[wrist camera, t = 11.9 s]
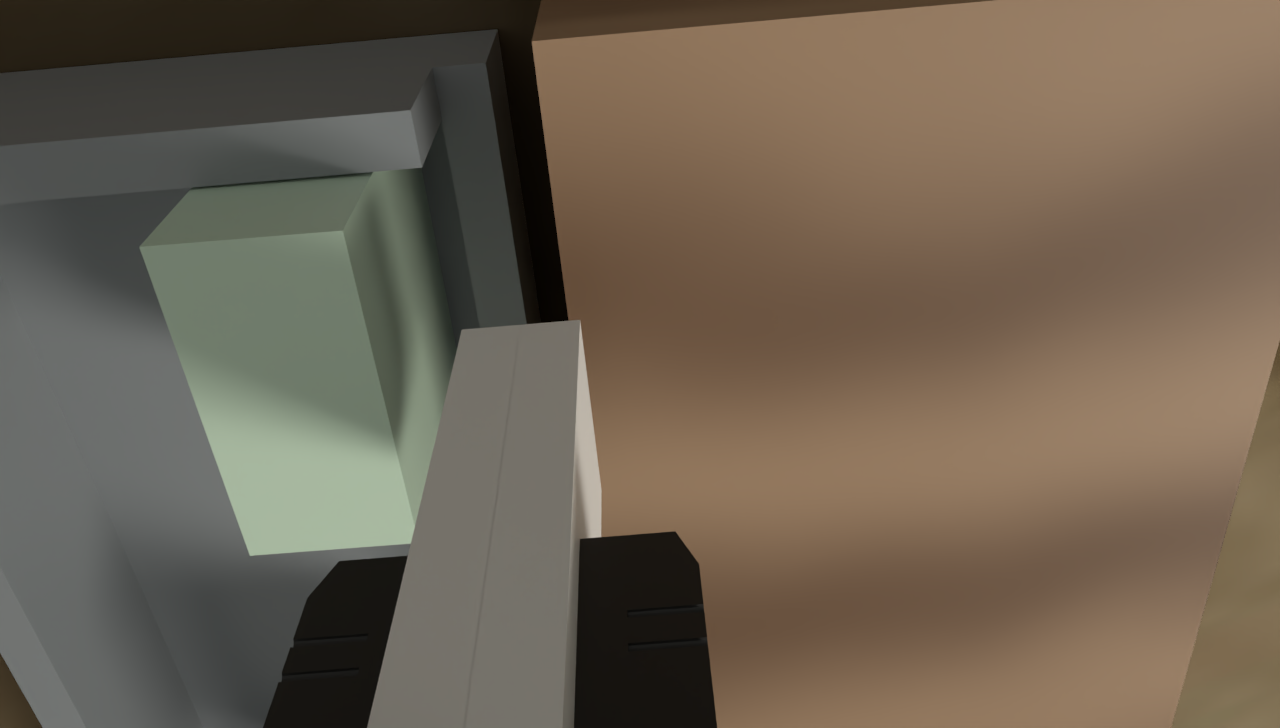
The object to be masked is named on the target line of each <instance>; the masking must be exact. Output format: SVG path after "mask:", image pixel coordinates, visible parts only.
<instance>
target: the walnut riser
mask: <svg viewBox="0 0 1280 728" xmlns="http://www.w3.org/2000/svg"><path fill="white" fill-rule="evenodd" d="M532 48H533V56H534V63H535V71H536V78H537V86H538V94H539V101H540V109H541V116H542V124H543V131H544V139H545V146H546V154H547V161H548V169H549V177H550V184H551V192H552V199H553V207H554V214H555V222H556V229H557V237H558V245H559V252H560V260H561V267H562V275H563V282H564V290H565V297H566V305H567V312H568V320H569V321H571V320H580V323H581V331H582V339H583V347H584V355H585V363H586V371H587V379H588V387H589V395H590V403H591V410H592V418H593V426H594V434H595V442H596V450H597V458H598V466H599V474H600V482H601V490H602V493H601V537H609V536H622V535H635V534H647V533H660V532H672V531H676V533H677V534H678V536H679V537H680V538H681V540H682V541H683V543H684V544H685V545H686V547H687V548H688V549H689V551H690V552H691V554H692V555H693V556H694V558H695V559H696V560H697V562H698V563H699V567H700V576H701V586H702V595H703V604H704V613H705V622H706V631H707V641H708V649H709V658H710V667H711V676H712V685H713V694H714V703H715V712H716V721H717V728H1171V727H1172V723H1173V720H1174V716H1175V713H1176V709H1177V705H1178V702H1179V698H1180V695H1181V691H1182V688H1183V684H1184V680H1185V677H1186V673H1187V670H1188V666H1189V663H1190V659H1191V655H1192V652H1193V648H1194V645H1195V641H1196V638H1197V634H1198V630H1199V627H1200V623H1201V620H1202V616H1203V613H1204V609H1205V605H1206V602H1207V598H1208V595H1209V591H1210V588H1211V584H1212V580H1213V577H1214V573H1215V570H1216V566H1217V563H1218V559H1219V555H1220V552H1221V548H1222V545H1223V541H1224V538H1225V534H1226V530H1227V527H1228V523H1229V520H1230V516H1231V513H1232V509H1233V505H1234V502H1235V498H1236V495H1237V491H1238V488H1239V484H1240V480H1241V477H1242V473H1243V470H1244V466H1245V463H1246V459H1247V455H1248V452H1249V448H1250V445H1251V441H1252V438H1253V434H1254V430H1255V427H1256V423H1257V420H1258V416H1259V413H1260V409H1261V405H1262V402H1263V398H1264V395H1265V391H1266V388H1267V384H1268V380H1269V377H1270V373H1271V370H1272V366H1273V363H1274V359H1275V355H1276V352H1277V348H1278V345H1279V341H1280V0H541V3H540V7H539V12H538V16H537V20H536V25H535V29H534V33H533V37H532Z"/></svg>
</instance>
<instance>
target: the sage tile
mask: <svg viewBox="0 0 1280 728" xmlns="http://www.w3.org/2000/svg"><path fill="white" fill-rule="evenodd" d="M139 248H140V251H141V253H142V256H143V259H144V262H145V265H146V267H147V270H148V273H149V276H150V279H151V281H152V284H153V287H154V290H155V292H156V295H157V298H158V301H159V304H160V306H161V309H162V312H163V315H164V318H165V320H166V323H167V326H168V329H169V332H170V334H171V337H172V340H173V343H174V346H175V348H176V351H177V354H178V357H179V359H180V362H181V365H182V368H183V371H184V373H185V376H186V379H187V382H188V385H189V387H190V390H191V393H192V396H193V399H194V401H195V404H196V407H197V410H198V413H199V415H200V418H201V421H202V424H203V426H204V429H205V432H206V435H207V438H208V440H209V443H210V446H211V449H212V452H213V454H214V457H215V460H216V463H217V466H218V468H219V471H220V474H221V477H222V479H223V482H224V485H225V488H226V491H227V493H228V496H229V499H230V502H231V505H232V507H233V510H234V513H235V516H236V519H237V521H238V524H239V527H240V530H241V533H242V535H243V538H244V541H245V544H246V546H247V549H248V552H249V555H250V556H254V555H267V554H280V553H293V552H306V551H320V550H333V549H346V548H359V547H372V546H386V545H399V544H411V541H412V536H413V532H414V528H415V524H416V520H417V515H418V511H419V507H420V503H421V499H422V494H423V490H424V486H425V482H426V478H427V473H428V469H429V465H430V461H431V457H432V452H433V448H434V444H435V440H436V436H437V431H438V427H439V423H440V419H441V415H442V410H443V406H444V402H445V398H446V393H447V389H448V385H449V381H450V377H451V372H452V368H453V364H454V360H455V356H456V351H457V348H456V343H455V338H454V333H453V328H452V323H451V318H450V312H449V307H448V302H447V297H446V292H445V287H444V281H443V276H442V271H441V266H440V261H439V256H438V251H437V245H436V240H435V235H434V230H433V225H432V220H431V214H430V209H429V204H428V199H427V194H426V189H425V184H424V178H423V173H422V168H413V169H401V170H389V171H378V172H366V173H355V174H343V175H331V176H320V177H308V178H297V179H285V180H274V181H262V182H250V183H239V184H227V185H216V186H204V187H192V188H191V189H190V190H189V192H188V193H187V194H186V195H185V196H184V197H183V198H182V199H181V201H180V202H179V203H178V204H177V205H176V206H175V207H174V208H173V210H172V211H171V212H170V213H169V214H168V215H167V216H166V217H165V218H164V220H163V221H162V222H161V223H160V224H159V225H158V226H157V227H156V229H155V230H154V231H153V232H152V233H151V234H150V235H149V236H148V238H147V239H146V240H145V241H144V242H143V243H142V244H141V245H140V247H139Z"/></svg>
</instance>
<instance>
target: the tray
mask: <svg viewBox="0 0 1280 728" xmlns="http://www.w3.org/2000/svg"><path fill="white" fill-rule="evenodd" d="M413 168H422V173H423V178H424V184H425V189H426V194H427V199H428V204H429V209H430V214H431V220H432V225H433V230H434V235H435V240H436V245H437V251H438V256H439V261H440V266H441V271H442V276H443V281H444V287H445V292H446V297H447V302H448V307H449V312H450V318H451V323H452V328H453V333H454V338H455V343H456V348H457V347H458V343H459V339H460V335H461V330H463V329H475V328H487V327H499V326H511V325H523V324H535V323H541V318H540V311H539V305H538V298H537V291H536V284H535V278H534V271H533V264H532V257H531V251H530V244H529V237H528V230H527V224H526V217H525V210H524V203H523V197H522V190H521V183H520V176H519V170H518V163H517V156H516V149H515V143H514V136H513V129H512V123H511V116H510V109H509V102H508V96H507V89H506V82H505V75H504V69H503V62H502V55H501V48H500V42H499V35H498V29H494V30H482V31H471V32H460V33H449V34H437V35H426V36H415V37H403V38H392V39H381V40H369V41H358V42H347V43H336V44H324V45H313V46H302V47H290V48H279V49H268V50H257V51H245V52H234V53H223V54H211V55H200V56H189V57H178V58H166V59H155V60H144V61H132V62H121V63H110V64H98V65H87V66H76V67H65V68H53V69H42V70H31V71H19V72H8V73H0V653H1V655H2V657H3V659H4V660H5V662H6V664H7V666H8V667H9V669H10V671H11V673H12V674H13V676H14V678H15V680H16V681H17V683H18V685H19V687H20V689H21V690H22V692H23V694H24V696H25V697H26V699H27V701H28V703H29V704H30V706H31V708H32V710H33V711H34V713H35V715H36V717H37V718H38V720H39V722H40V724H41V725H42V727H43V728H263V726H264V723H265V720H266V717H267V714H268V711H269V708H270V705H271V703H272V700H273V697H274V694H275V691H276V688H277V685H278V682H281V681H282V674H281V673H282V670H283V667H284V664H285V662H286V659H287V656H288V653H289V650H290V647H293V645H294V641H293V638H294V635H295V632H296V629H297V626H298V623H299V621H300V618H301V615H302V612H303V609H304V606H305V603H306V600H307V598H308V597H309V595H310V594H311V593H312V592H313V591H314V590H315V588H316V587H317V586H318V585H319V584H320V583H321V581H322V580H323V579H324V578H325V577H326V576H327V574H328V573H329V572H330V571H331V570H332V569H333V567H334V566H335V565H336V564H337V563H338V562H339V561H346V560H359V559H371V558H384V557H396V556H408V553H409V549H410V545H411V544H399V545H386V546H372V547H359V548H346V549H333V550H320V551H306V552H293V553H280V554H267V555H254V556H250V555H249V552H248V549H247V546H246V544H245V541H244V538H243V535H242V533H241V530H240V527H239V524H238V521H237V519H236V516H235V513H234V510H233V507H232V505H231V502H230V499H229V496H228V493H227V491H226V488H225V485H224V482H223V479H222V477H221V474H220V471H219V468H218V466H217V463H216V460H215V457H214V454H213V452H212V449H211V446H210V443H209V440H208V438H207V435H206V432H205V429H204V426H203V424H202V421H201V418H200V415H199V413H198V410H197V407H196V404H195V401H194V399H193V396H192V393H191V390H190V387H189V385H188V382H187V379H186V376H185V373H184V371H183V368H182V365H181V362H180V359H179V357H178V354H177V351H176V348H175V346H174V343H173V340H172V337H171V334H170V332H169V329H168V326H167V323H166V320H165V318H164V315H163V312H162V309H161V306H160V304H159V301H158V298H157V295H156V292H155V290H154V287H153V284H152V281H151V279H150V276H149V273H148V270H147V267H146V265H145V262H144V259H143V256H142V253H141V251H140V248H139V247H140V245H141V244H142V243H143V242H144V241H145V240H146V239H147V238H148V236H149V235H150V234H151V233H152V232H153V231H154V230H155V229H156V227H157V226H158V225H159V224H160V223H161V222H162V221H163V220H164V218H165V217H166V216H167V215H168V214H169V213H170V212H171V211H172V210H173V208H174V207H175V206H176V205H177V204H178V203H179V202H180V201H181V199H182V198H183V197H184V196H185V195H186V194H187V193H188V192H189V190H190V189H191V188H192V187H204V186H216V185H227V184H239V183H250V182H262V181H274V180H285V179H297V178H308V177H320V176H331V175H343V174H355V173H366V172H378V171H389V170H401V169H413Z"/></svg>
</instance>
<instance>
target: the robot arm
mask: <svg viewBox="0 0 1280 728" xmlns="http://www.w3.org/2000/svg"><path fill="white" fill-rule="evenodd" d="M601 493H602V490H601V482H600V474H599V466H598V458H597V450H596V442H595V434H594V426H593V418H592V410H591V403H590V395H589V387H588V379H587V371H586V363H585V355H584V347H583V339H582V331H581V323H580V320H571V321H559V322H547V323H535V324H523V325H511V326H499V327H487V328H475V329H463V330H461V335H460V339H459V343H458V347H457V351H456V356H455V360H454V364H453V368H452V372H451V377H450V381H449V385H448V389H447V393H446V398H445V402H444V406H443V410H442V415H441V419H440V423H439V427H438V431H437V436H436V440H435V444H434V448H433V452H432V457H431V461H430V465H429V469H428V473H427V478H426V482H425V486H424V490H423V494H422V499H421V503H420V507H419V511H418V515H417V520H416V524H415V528H414V532H413V536H412V541H411V545H410V549H409V553H408V556H396V557H384V558H371V559H359V560H346V561H339V562H338V563H337V564H336V565H335V566H334V567H333V569H332V570H331V571H330V572H329V573H328V574H327V576H326V577H325V578H324V579H323V580H322V581H321V583H320V584H319V585H318V586H317V587H316V588H315V590H314V591H313V592H312V593H311V594H310V595H309V597H308V598H307V600H306V603H305V606H304V609H303V612H302V615H301V618H300V621H299V623H298V626H297V629H296V632H295V635H294V638H293V641H294V645H293V647H290V650H289V653H288V656H287V659H286V662H285V664H284V667H283V670H282V673H281V674H282V681H281V682H278V685H277V688H276V691H275V694H274V697H273V700H272V703H271V705H270V708H269V711H268V714H267V717H266V720H265V723H264V726H263V728H717V721H716V712H715V703H714V694H713V685H712V676H711V667H710V658H709V649H708V641H707V631H706V622H705V613H704V604H703V595H702V586H701V576H700V567H699V563H698V562H697V560H696V559H695V558H694V556H693V555H692V554H691V552H690V551H689V549H688V548H687V547H686V545H685V544H684V543H683V541H682V540H681V538H680V537H679V536H678V534H677V533H676V531H672V532H660V533H647V534H635V535H622V536H609V537H601Z"/></svg>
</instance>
